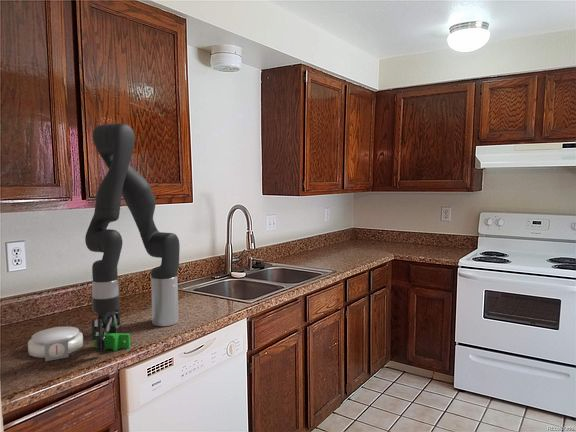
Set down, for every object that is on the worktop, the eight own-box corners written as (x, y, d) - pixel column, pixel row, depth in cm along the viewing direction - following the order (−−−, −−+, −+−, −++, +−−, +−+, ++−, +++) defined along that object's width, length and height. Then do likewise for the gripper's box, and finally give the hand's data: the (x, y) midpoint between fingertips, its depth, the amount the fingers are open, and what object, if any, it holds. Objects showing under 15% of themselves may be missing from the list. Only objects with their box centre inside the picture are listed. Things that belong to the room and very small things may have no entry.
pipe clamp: (90, 351, 132) (89, 336, 131) (96, 346, 135) (95, 332, 135) (125, 352, 131) (124, 337, 130) (130, 347, 134) (130, 333, 134)
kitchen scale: (29, 344, 137) (28, 328, 136) (81, 335, 144) (80, 321, 143) (27, 365, 121) (26, 348, 121) (85, 354, 128) (84, 338, 128)
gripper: (107, 301, 123) (109, 355, 124) (127, 288, 137) (128, 337, 138) (81, 301, 123) (84, 355, 124) (103, 288, 137) (105, 337, 138)
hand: (107, 346), depth 131 cm, fingers open, 8 cm apart
